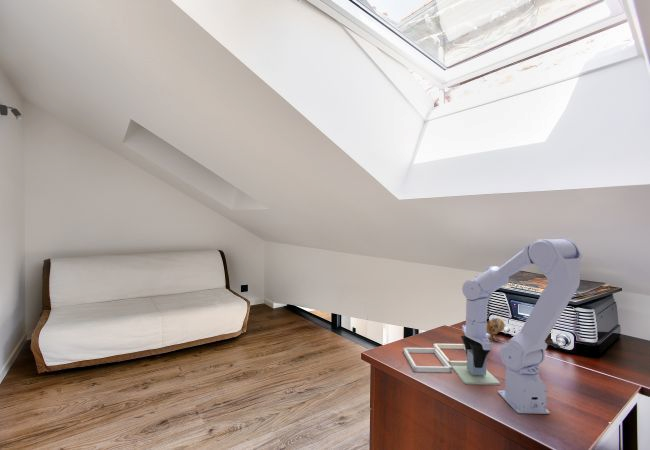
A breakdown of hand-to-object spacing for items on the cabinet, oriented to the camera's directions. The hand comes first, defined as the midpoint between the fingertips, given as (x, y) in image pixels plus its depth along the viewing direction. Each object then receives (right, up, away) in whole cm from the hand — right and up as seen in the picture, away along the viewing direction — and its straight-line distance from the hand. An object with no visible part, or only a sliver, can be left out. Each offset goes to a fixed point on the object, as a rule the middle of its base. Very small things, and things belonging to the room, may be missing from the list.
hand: (474, 363), depth 96 cm
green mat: (0, -4, 0) cm, 4 cm away
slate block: (0, -3, 0) cm, 3 cm away
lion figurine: (+19, -3, +31) cm, 37 cm away
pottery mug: (+38, -4, +25) cm, 46 cm away
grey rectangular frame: (-12, -3, +9) cm, 15 cm away
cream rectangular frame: (0, -3, +13) cm, 14 cm away
